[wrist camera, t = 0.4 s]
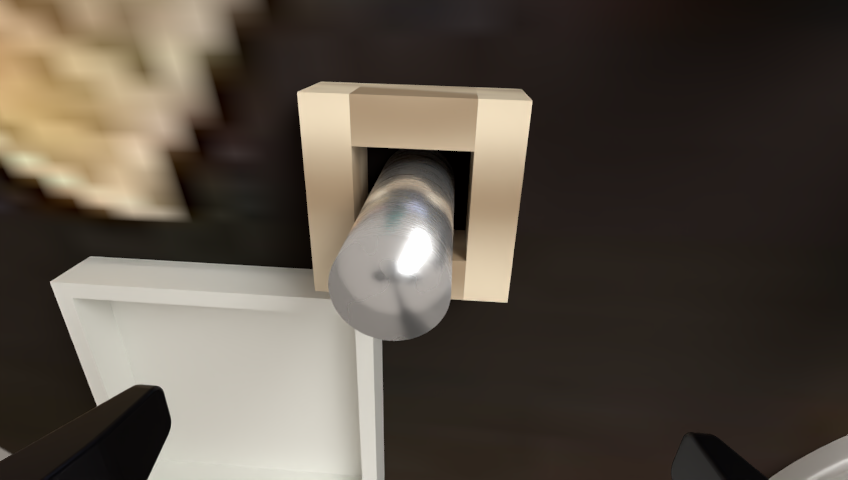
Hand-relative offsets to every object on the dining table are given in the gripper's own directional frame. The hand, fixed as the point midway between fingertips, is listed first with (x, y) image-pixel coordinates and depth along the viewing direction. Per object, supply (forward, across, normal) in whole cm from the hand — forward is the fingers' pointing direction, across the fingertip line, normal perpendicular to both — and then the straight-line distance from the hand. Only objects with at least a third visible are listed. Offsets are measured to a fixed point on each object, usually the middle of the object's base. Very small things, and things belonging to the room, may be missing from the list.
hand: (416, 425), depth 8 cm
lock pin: (+13, +1, 0) cm, 13 cm away
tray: (+13, +10, +12) cm, 20 cm away
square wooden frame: (+13, +1, 0) cm, 13 cm away
